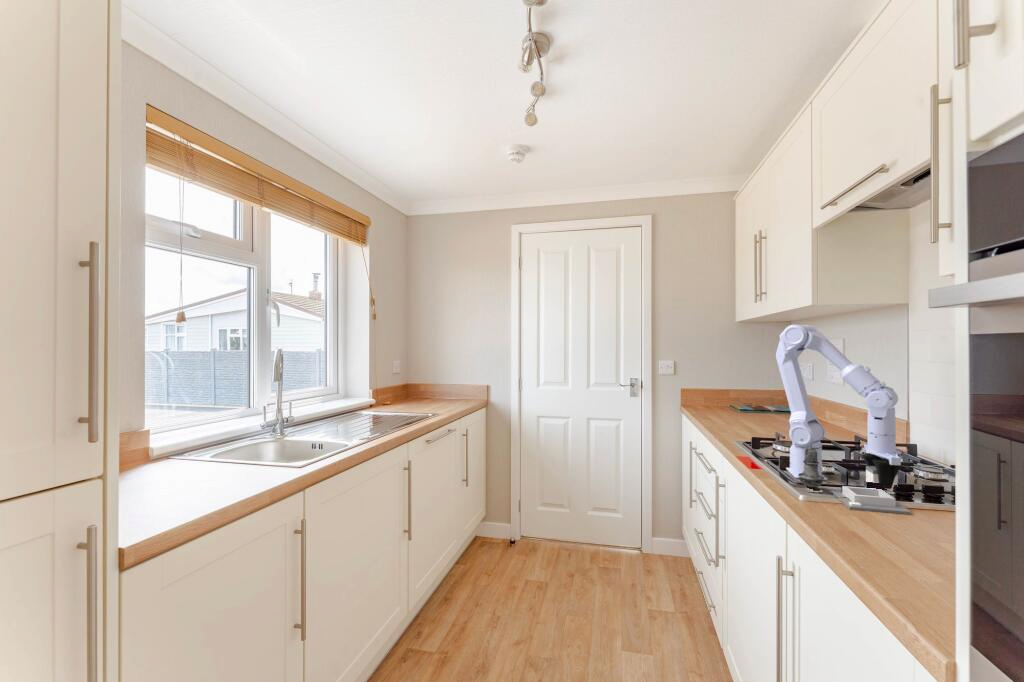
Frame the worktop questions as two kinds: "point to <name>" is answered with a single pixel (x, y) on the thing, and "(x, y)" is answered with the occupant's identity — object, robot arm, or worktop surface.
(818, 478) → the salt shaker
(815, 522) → the worktop surface
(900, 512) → the socket plate
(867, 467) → the plug
